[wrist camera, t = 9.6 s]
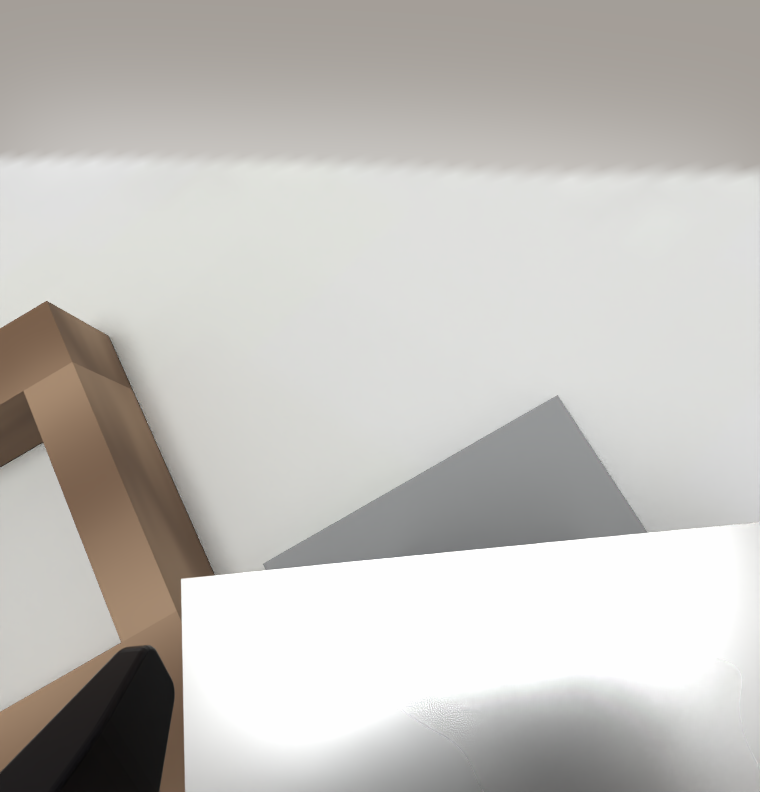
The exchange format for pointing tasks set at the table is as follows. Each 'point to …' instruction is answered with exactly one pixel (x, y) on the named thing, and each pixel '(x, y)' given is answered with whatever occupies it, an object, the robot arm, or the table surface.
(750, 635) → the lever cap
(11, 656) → the table surface
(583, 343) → the table surface
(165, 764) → the brown wooden rectangular frame
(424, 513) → the rubber mat
